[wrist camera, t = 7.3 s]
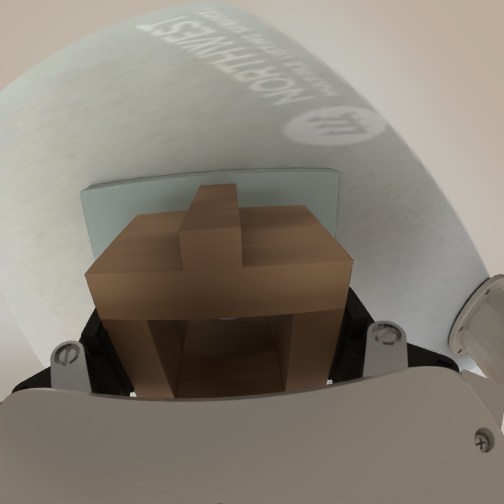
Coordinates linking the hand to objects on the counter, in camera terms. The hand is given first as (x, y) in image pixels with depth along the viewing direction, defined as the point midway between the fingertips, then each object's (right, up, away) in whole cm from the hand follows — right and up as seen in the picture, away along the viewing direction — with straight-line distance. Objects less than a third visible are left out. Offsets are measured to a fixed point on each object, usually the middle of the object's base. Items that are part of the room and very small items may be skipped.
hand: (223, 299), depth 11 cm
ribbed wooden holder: (0, 0, +1) cm, 1 cm away
